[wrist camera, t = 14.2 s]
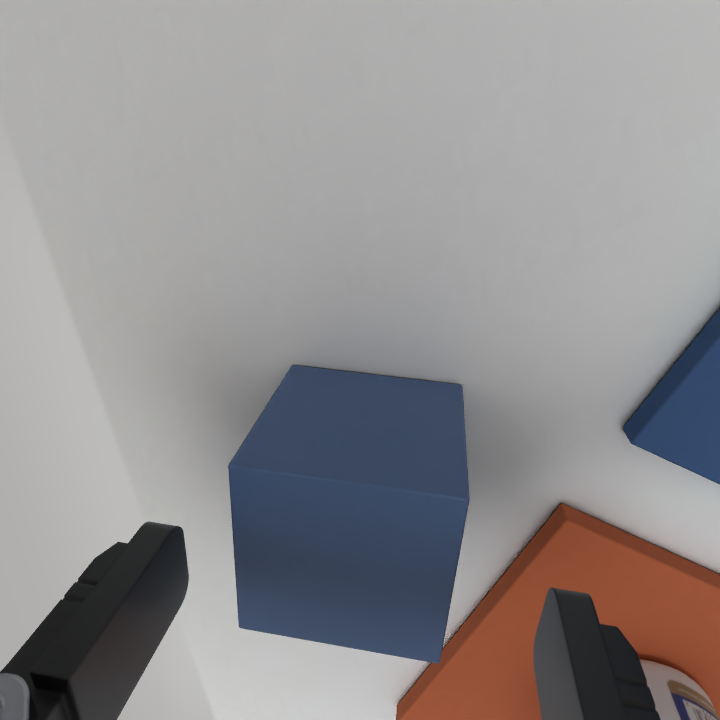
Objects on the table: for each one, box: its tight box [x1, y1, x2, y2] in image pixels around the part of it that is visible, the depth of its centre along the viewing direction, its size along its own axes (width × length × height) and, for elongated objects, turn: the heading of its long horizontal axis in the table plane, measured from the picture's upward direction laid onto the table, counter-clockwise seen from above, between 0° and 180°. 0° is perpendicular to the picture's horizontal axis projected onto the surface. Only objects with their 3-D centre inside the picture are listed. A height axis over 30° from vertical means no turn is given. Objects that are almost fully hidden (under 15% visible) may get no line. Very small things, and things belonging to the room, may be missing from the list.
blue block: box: [228, 365, 469, 663], centre depth 14 cm, size 5×5×5 cm
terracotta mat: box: [396, 504, 720, 720], centre depth 18 cm, size 12×12×1 cm
